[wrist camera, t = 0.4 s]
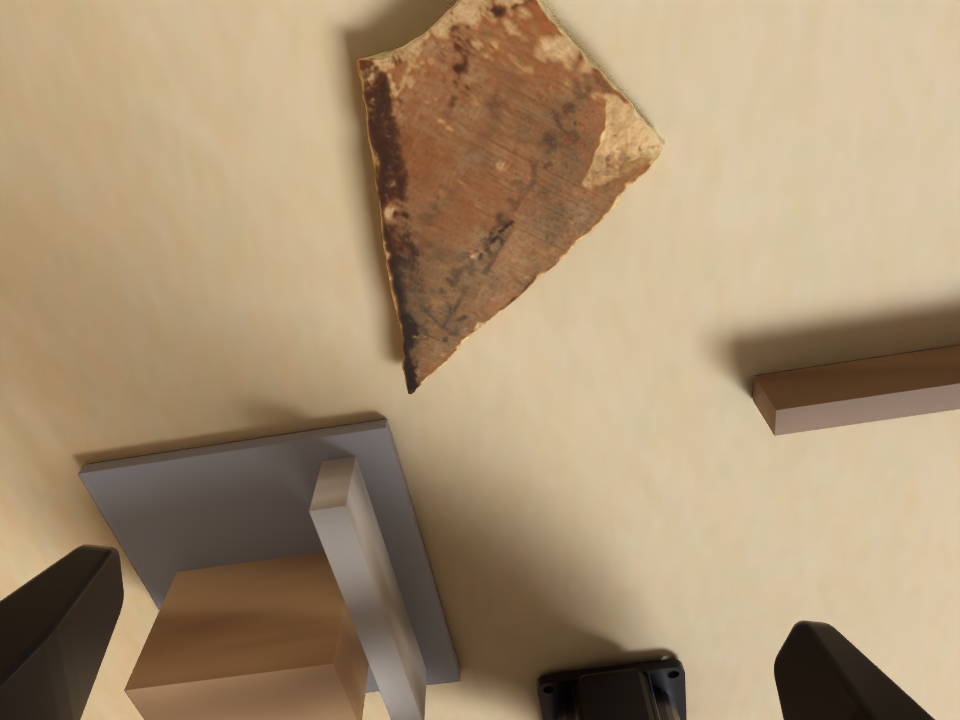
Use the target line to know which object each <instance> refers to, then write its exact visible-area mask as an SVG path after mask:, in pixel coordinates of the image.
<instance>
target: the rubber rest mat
mask: <svg viewBox="0 0 960 720" xmlns="http://www.w3.org/2000/svg"><path fill="white" fill-rule="evenodd" d="M353 456H356V458H357V461H358V464H359V467H360V470H361V473H362V476H363V479H364V482H365V485H366V488H367V491H368V494H369V498H370V501H371V504H372V507H373V510H374V513H375V516H376V519H377V522H378V525H379V528H380V531H381V534H382V537H383V540H384V543H385V546H386V549H387V552H388V555H389V558H390V561H391V564H392V567H393V570H394V573H395V576H396V579H397V582H398V585H399V588H400V591H401V594H402V597H403V600H404V603H405V606H406V609H407V613H408V616H409V619H410V622H411V625H412V628H413V631H414V634H415V637H416V640H417V643H418V646H419V649H420V652H421V655H422V658H423V661H424V664H425V667H426V670H427V674H426V685H432V684H440V683H448V682H456V681H460V668H459V664H458V661H457V657H456V654H455V651H454V647H453V644H452V640H451V637H450V633H449V630H448V627H447V623H446V620H445V616H444V613H443V609H442V606H441V603H440V599H439V596H438V592H437V589H436V585H435V582H434V579H433V575H432V572H431V568H430V565H429V561H428V558H427V555H426V551H425V548H424V544H423V541H422V537H421V534H420V531H419V527H418V524H417V520H416V517H415V513H414V510H413V506H412V503H411V500H410V496H409V493H408V489H407V486H406V482H405V479H404V476H403V472H402V469H401V465H400V462H399V458H398V455H397V452H396V448H395V445H394V441H393V438H392V434H391V431H390V428H389V424H388V421H387V419H384V420H377V421H371V422H364V423H357V424H351V425H344V426H338V427H331V428H324V429H318V430H311V431H305V432H298V433H291V434H285V435H278V436H271V437H265V438H258V439H252V440H245V441H238V442H232V443H225V444H219V445H212V446H205V447H199V448H192V449H186V450H179V451H172V452H166V453H159V454H152V455H146V456H139V457H133V458H126V459H119V460H113V461H106V462H100V463H93V464H86V465H84V466H83V467H82V469H81V470H80V472H79V473H78V475H79V477H80V479H81V480H82V482H83V484H84V485H85V487H86V489H87V490H88V492H89V494H90V495H91V497H92V499H93V500H94V502H95V504H96V505H97V507H98V509H99V510H100V512H101V514H102V515H103V517H104V519H105V520H106V522H107V524H108V525H109V527H110V529H111V530H112V532H113V534H114V535H115V537H116V539H117V540H118V542H119V544H120V545H121V547H122V549H123V550H124V552H125V554H126V555H127V557H128V559H129V560H130V562H131V564H132V565H133V567H134V569H135V571H136V572H137V574H138V576H139V577H140V579H141V581H142V582H143V584H144V586H145V587H146V589H147V591H148V592H149V594H150V596H151V597H152V599H153V601H154V602H155V604H156V606H157V607H158V609H159V611H160V609H161V606H162V604H163V602H164V600H165V597H166V595H167V593H168V591H169V588H170V586H171V584H172V582H173V579H174V577H175V575H176V573H177V572H181V571H188V570H196V569H203V568H210V567H217V566H224V565H232V564H239V563H246V562H253V561H260V560H267V559H275V558H282V557H289V556H296V555H303V554H311V553H318V552H325V550H324V548H323V545H322V543H321V540H320V538H319V535H318V533H317V530H316V528H315V525H314V522H313V520H312V517H311V515H310V512H309V509H310V506H311V502H312V498H313V494H314V490H315V487H316V483H317V479H318V475H319V471H320V468H321V464H322V461H326V460H333V459H340V458H346V457H353ZM376 691H380V690H379V688H378V685H377V682H376V680H375V677H374V675H373V672H372V670H371V667H370V665H369V667H368V675H367V683H366V691H365V693H368V692H376Z"/></svg>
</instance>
